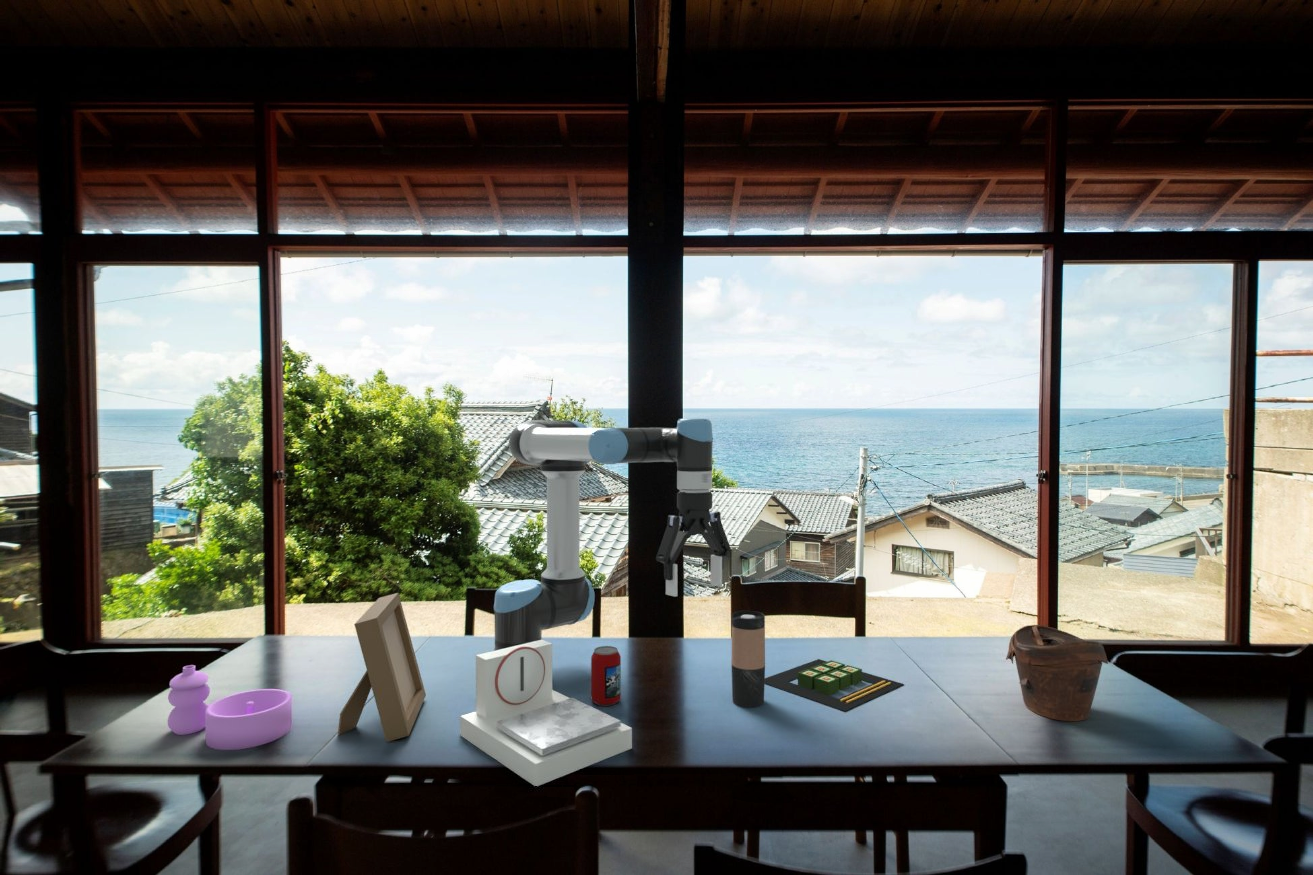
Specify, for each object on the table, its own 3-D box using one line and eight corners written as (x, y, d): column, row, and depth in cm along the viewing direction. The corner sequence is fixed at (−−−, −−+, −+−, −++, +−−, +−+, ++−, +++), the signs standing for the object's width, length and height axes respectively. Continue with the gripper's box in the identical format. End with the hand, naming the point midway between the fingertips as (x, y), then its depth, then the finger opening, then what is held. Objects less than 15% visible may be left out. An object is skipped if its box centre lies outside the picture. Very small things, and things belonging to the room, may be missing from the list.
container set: (307, 720, 151) (306, 659, 151) (258, 752, 136) (258, 684, 136) (201, 714, 155) (200, 654, 154) (142, 745, 139) (141, 678, 139)
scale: (460, 735, 144) (460, 652, 143) (550, 706, 158) (550, 631, 158) (535, 786, 123) (535, 690, 123) (631, 748, 138) (631, 662, 138)
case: (1020, 686, 171) (1021, 613, 170) (1117, 710, 156) (1118, 630, 156) (992, 708, 158) (993, 629, 158) (1094, 736, 144) (1095, 649, 143)
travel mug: (769, 698, 163) (769, 612, 163) (759, 710, 156) (759, 620, 156) (737, 693, 166) (737, 608, 166) (726, 704, 160) (726, 616, 159)
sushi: (845, 714, 156) (845, 698, 156) (758, 684, 174) (758, 669, 174) (903, 687, 172) (903, 672, 172) (818, 662, 191) (818, 648, 191)
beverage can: (616, 708, 157) (616, 655, 157) (587, 706, 159) (587, 653, 159) (623, 697, 164) (623, 645, 164) (596, 695, 165) (595, 644, 165)
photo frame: (426, 699, 163) (423, 591, 162) (408, 740, 141) (406, 616, 141) (358, 704, 160) (356, 594, 160) (330, 746, 139) (327, 620, 138)
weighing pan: (496, 727, 137) (496, 721, 137) (572, 703, 149) (572, 697, 149) (542, 755, 125) (542, 748, 125) (620, 726, 137) (620, 720, 137)
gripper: (663, 495, 139) (663, 602, 139) (746, 488, 156) (746, 584, 156) (638, 493, 145) (638, 596, 145) (721, 486, 161) (721, 579, 162)
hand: (694, 590), depth 150 cm, fingers open, 13 cm apart
